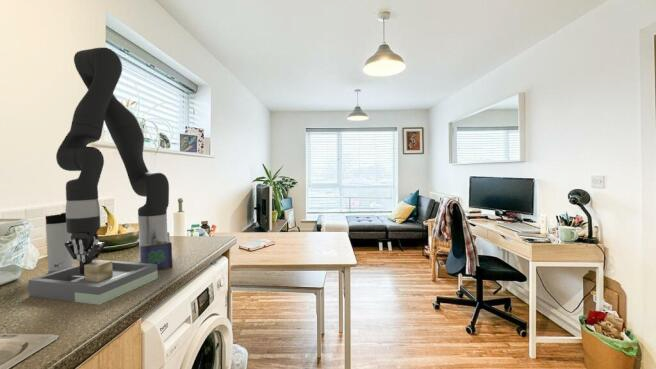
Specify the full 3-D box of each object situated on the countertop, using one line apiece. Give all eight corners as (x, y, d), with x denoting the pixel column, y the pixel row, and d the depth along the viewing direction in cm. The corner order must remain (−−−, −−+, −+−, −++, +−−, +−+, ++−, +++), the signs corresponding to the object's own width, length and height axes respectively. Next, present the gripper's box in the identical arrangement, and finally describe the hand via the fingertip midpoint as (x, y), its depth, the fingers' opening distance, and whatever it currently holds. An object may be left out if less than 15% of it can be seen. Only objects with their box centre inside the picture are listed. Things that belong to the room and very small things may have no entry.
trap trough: (97, 272, 94) (96, 259, 94) (157, 278, 88) (157, 264, 88) (29, 296, 76) (28, 279, 76) (99, 304, 71) (98, 287, 71)
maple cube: (100, 275, 85) (100, 260, 85) (112, 276, 84) (112, 261, 84) (84, 280, 80) (84, 265, 80) (97, 282, 79) (96, 266, 79)
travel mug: (59, 275, 92) (55, 214, 91) (43, 273, 94) (39, 213, 93) (79, 268, 98) (76, 211, 98) (64, 267, 100) (61, 211, 99)
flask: (140, 273, 93) (139, 241, 93) (141, 270, 96) (140, 239, 95) (172, 268, 98) (171, 237, 98) (172, 265, 100) (171, 236, 100)
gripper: (113, 214, 84) (116, 271, 85) (80, 212, 88) (82, 267, 88) (87, 218, 77) (89, 280, 78) (51, 216, 80) (54, 276, 81)
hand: (86, 273), depth 83 cm, fingers closed
